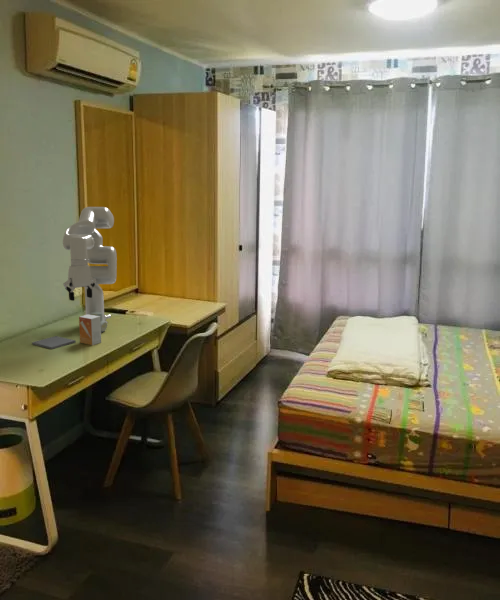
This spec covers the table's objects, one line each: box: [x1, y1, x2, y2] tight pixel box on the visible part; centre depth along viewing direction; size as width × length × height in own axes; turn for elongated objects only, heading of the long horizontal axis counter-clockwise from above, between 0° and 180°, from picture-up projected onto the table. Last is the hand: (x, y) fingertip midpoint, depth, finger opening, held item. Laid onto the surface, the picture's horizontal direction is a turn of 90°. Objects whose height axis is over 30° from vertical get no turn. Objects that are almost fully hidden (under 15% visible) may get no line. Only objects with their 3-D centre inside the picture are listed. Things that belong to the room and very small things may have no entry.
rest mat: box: [31, 335, 77, 350], centre depth 283 cm, size 14×14×1 cm
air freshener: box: [90, 312, 108, 334], centre depth 304 cm, size 11×8×10 cm
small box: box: [78, 314, 102, 346], centre depth 284 cm, size 8×6×13 cm
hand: (80, 298), depth 280 cm, fingers open, 9 cm apart
